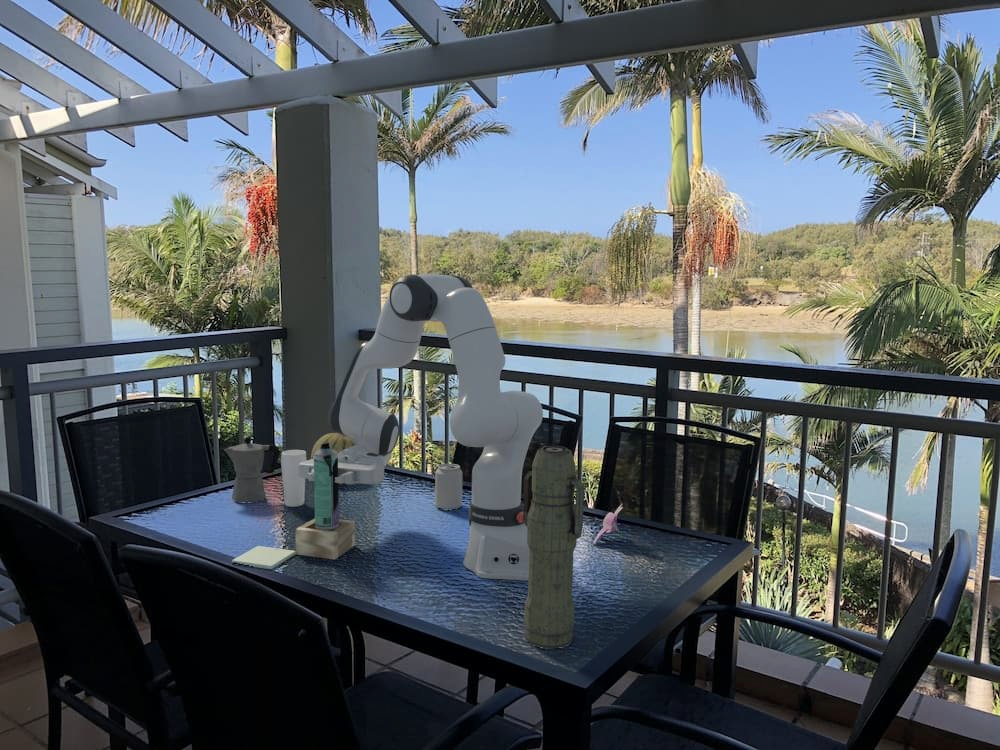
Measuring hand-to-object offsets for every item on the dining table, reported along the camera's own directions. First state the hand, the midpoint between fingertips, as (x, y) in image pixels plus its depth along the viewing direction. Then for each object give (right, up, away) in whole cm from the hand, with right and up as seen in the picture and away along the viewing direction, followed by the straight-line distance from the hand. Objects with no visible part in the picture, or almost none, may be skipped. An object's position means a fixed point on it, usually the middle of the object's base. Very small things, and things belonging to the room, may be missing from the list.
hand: (324, 479), depth 182 cm
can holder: (0, -17, +3) cm, 17 cm away
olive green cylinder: (+49, -24, -39) cm, 68 cm away
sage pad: (-13, -18, -4) cm, 22 cm away
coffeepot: (-30, -11, +43) cm, 54 cm away
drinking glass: (-17, -12, +38) cm, 44 cm away
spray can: (0, -12, +2) cm, 12 cm away
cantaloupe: (-11, -9, +67) cm, 68 cm away
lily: (+68, -17, +13) cm, 71 cm away
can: (+26, -13, +39) cm, 49 cm away
